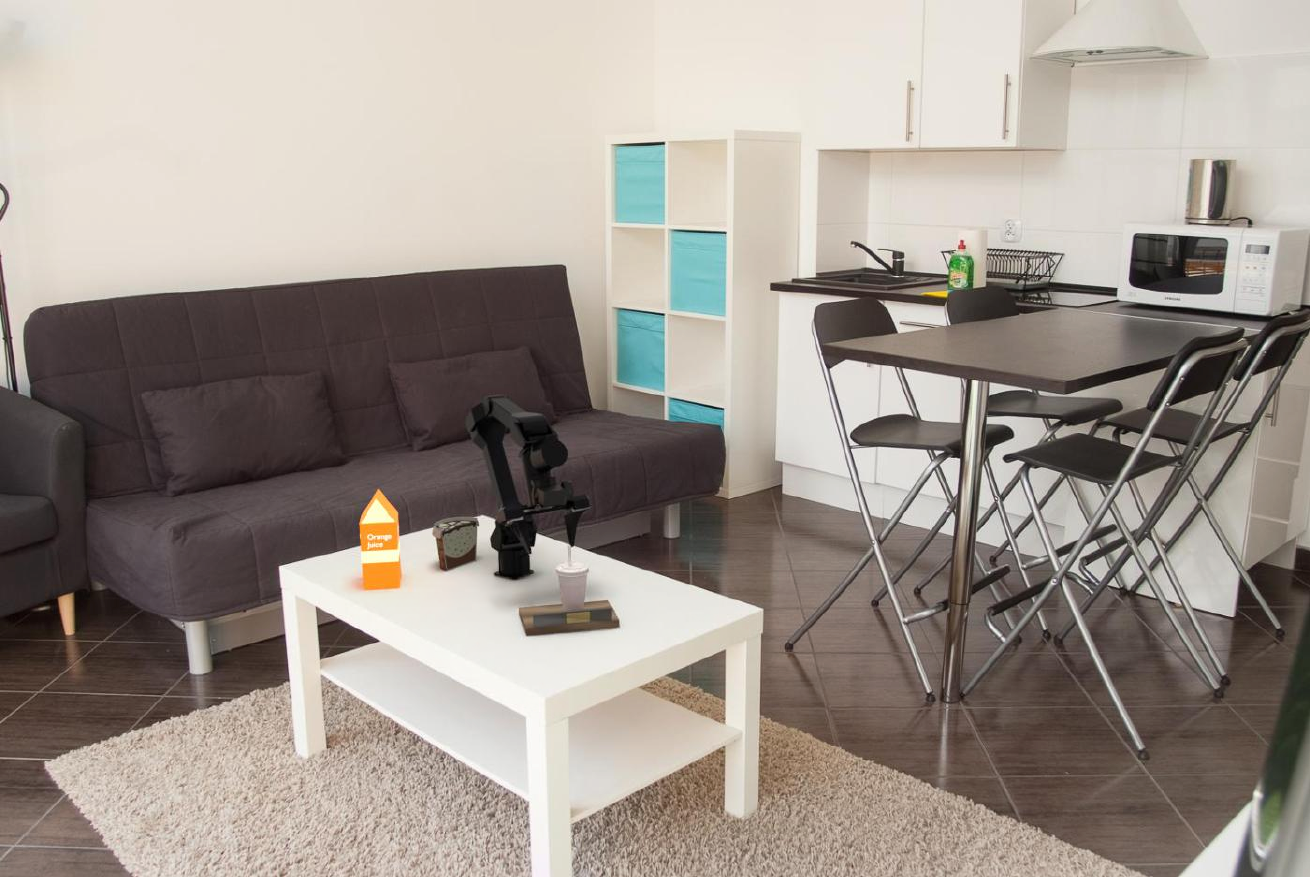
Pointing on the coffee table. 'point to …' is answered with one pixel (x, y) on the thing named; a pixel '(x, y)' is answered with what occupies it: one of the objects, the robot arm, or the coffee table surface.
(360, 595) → the coffee table surface
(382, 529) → the orange juice
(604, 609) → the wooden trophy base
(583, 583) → the smoothie
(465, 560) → the brown cake slice
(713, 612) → the coffee table surface
